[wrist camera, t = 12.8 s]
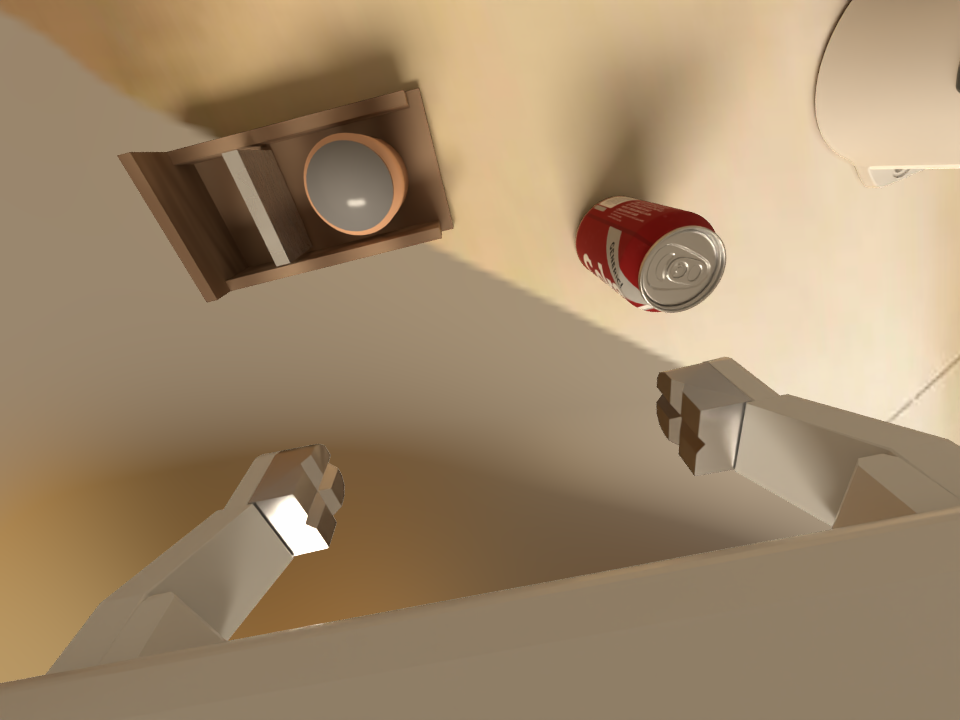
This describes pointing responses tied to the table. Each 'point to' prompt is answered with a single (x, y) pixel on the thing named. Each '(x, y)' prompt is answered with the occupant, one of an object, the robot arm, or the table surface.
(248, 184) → the block
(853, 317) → the table surface
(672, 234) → the soda can
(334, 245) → the tray
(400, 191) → the jar
